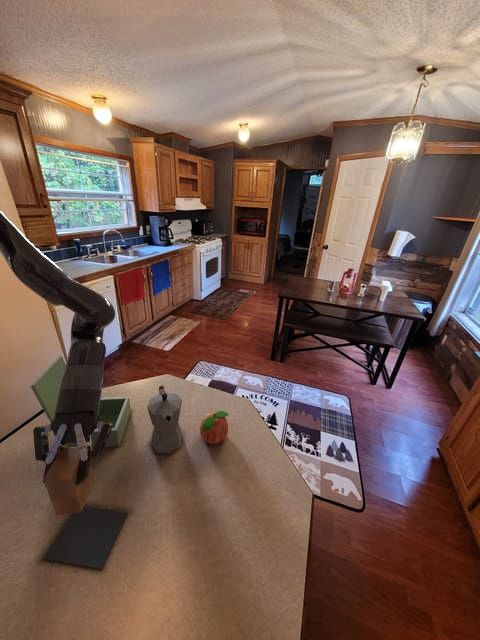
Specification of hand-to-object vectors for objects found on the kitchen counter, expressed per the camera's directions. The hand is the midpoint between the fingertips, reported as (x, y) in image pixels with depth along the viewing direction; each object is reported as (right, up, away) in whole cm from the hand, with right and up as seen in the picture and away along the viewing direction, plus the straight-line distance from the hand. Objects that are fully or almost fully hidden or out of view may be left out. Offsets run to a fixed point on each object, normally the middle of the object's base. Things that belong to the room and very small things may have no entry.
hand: (65, 484), depth 46 cm
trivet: (0, -15, +7) cm, 17 cm away
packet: (-1, -5, +4) cm, 7 cm away
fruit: (+24, -7, +32) cm, 41 cm away
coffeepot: (+10, -6, +30) cm, 33 cm away
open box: (-11, -4, +32) cm, 34 cm away
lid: (-18, +10, +24) cm, 32 cm away
